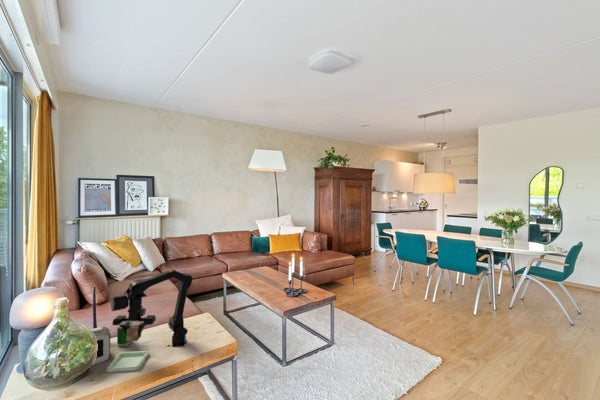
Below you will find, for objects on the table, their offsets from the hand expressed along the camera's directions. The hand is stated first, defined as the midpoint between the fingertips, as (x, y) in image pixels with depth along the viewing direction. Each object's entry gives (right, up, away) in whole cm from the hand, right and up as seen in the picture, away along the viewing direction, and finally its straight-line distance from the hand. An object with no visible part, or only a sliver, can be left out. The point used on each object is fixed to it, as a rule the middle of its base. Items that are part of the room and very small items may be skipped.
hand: (134, 336), depth 145 cm
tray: (-1, -12, -3) cm, 12 cm away
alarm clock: (-21, -11, -2) cm, 24 cm away
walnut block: (0, -1, 0) cm, 1 cm away
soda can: (-14, -11, +15) cm, 23 cm away
